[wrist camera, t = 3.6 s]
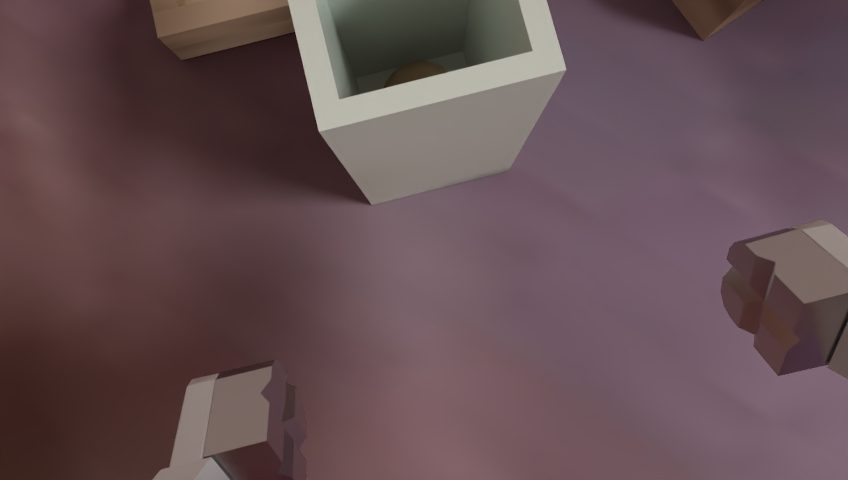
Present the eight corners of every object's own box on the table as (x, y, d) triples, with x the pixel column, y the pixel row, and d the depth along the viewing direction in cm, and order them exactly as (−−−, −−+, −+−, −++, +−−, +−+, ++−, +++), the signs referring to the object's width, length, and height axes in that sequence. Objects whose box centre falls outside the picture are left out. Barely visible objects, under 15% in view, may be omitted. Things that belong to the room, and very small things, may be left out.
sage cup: (472, 40, 23) (501, -159, 13) (508, 170, 22) (566, 70, 12) (340, 73, 23) (264, -99, 13) (372, 205, 22) (318, 131, 12)
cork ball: (450, 71, 22) (452, 36, 19) (469, 143, 22) (474, 119, 19) (376, 90, 22) (367, 58, 19) (394, 162, 22) (388, 141, 19)
